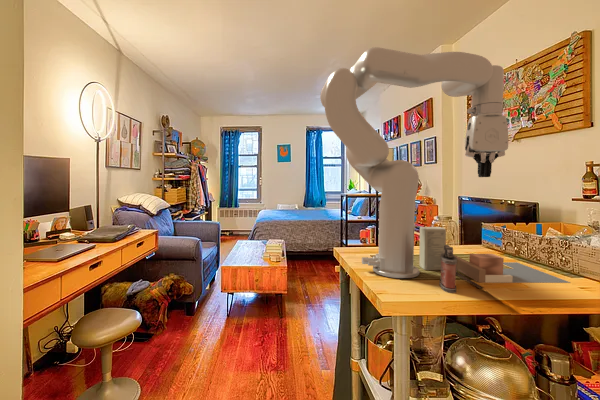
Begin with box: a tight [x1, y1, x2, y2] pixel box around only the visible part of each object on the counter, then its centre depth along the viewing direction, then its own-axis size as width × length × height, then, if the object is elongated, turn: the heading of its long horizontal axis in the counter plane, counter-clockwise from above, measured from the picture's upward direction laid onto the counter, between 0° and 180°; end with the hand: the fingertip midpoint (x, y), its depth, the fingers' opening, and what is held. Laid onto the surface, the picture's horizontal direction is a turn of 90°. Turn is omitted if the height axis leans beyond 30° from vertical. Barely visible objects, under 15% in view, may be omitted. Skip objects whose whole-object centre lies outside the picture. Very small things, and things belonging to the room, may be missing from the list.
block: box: [468, 253, 505, 275], centre depth 77 cm, size 6×4×5 cm
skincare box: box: [418, 226, 447, 271], centre depth 88 cm, size 6×4×12 cm
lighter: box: [439, 244, 458, 294], centre depth 73 cm, size 8×3×10 cm, turn 163°
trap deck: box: [453, 254, 571, 289], centre depth 81 cm, size 22×18×4 cm
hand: (484, 176), depth 86 cm, fingers closed
